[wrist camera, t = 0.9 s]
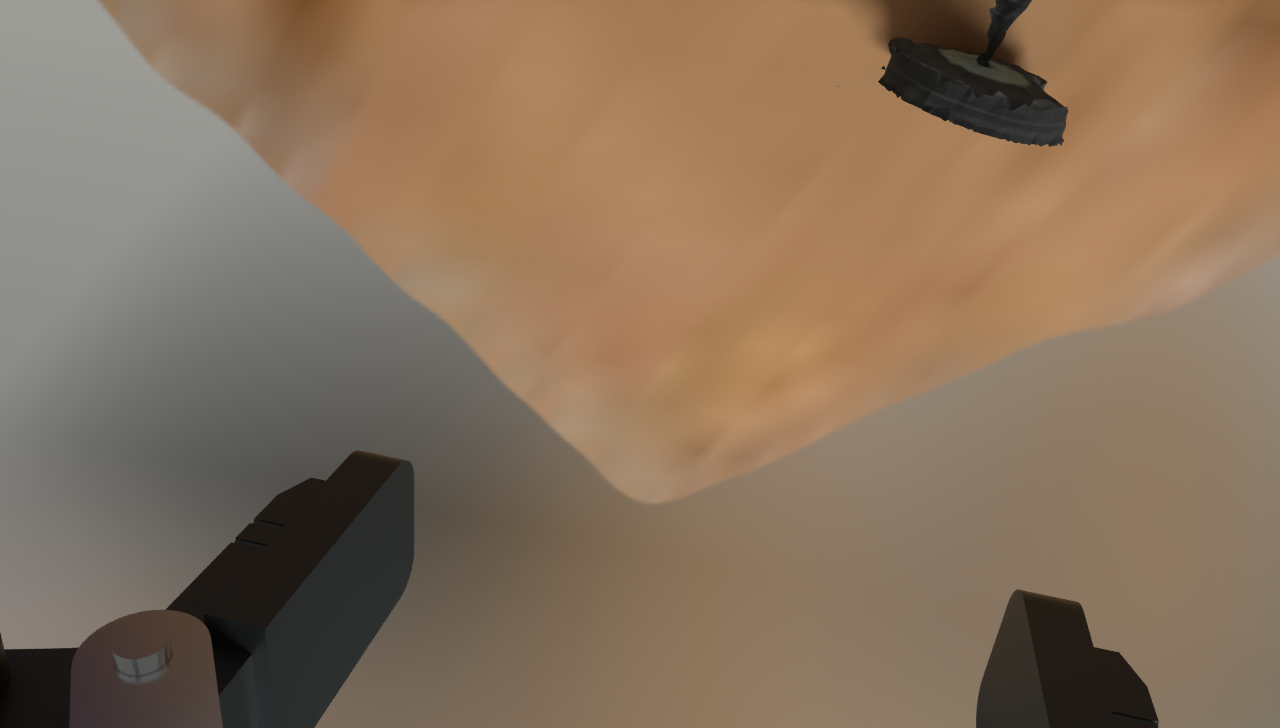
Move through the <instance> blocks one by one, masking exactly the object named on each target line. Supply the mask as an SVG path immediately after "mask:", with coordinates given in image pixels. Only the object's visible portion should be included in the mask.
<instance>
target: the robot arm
mask: <svg viewBox="0 0 1280 728" xmlns="http://www.w3.org/2000/svg"><path fill="white" fill-rule="evenodd" d="M413 559H414V471H413V466H412V464H411V462H409V461H407V460H402V459H397V458H392V457H387V456H383V455H378V454H373V453H368V452H364V451H358V450H357V451H354V452H353V453H352V454H351V455H349V456H348V458H347V459H346V460H345V461H344V462H343V463H342V464H341V465H340V466H339V467H338V468H337V470H336V471H335V472H334V473H333V474H332V475H331V476H330V477H329V478H328V479H327V480H326V481H324V480H319V479H315V478H310V479H308V480H306V481H304V482H302V483H300V484H298V485H296V486H294V487H292V488H290V489H288V490H286V491H284V492H282V493H280V494H278V495H277V496H276V497H275V498H274V499H273V500H272V501H271V502H270V503H269V504H268V505H267V506H266V507H265V508H264V509H263V510H262V511H261V512H260V513H259V514H258V516H256V517H255V519H254V523H253V524H251V523H250V524H249V525H248V526H247V527H246V528H245V529H244V530H243V531H242V532H241V533H240V534H239V535H238V536H237V537H236V541H235V542H234V543H230V544H229V545H228V546H227V547H226V548H225V549H224V550H223V551H222V552H221V553H220V554H219V555H218V556H217V557H216V559H214V560H213V562H212V563H211V564H210V565H209V566H208V567H207V568H206V569H205V570H204V571H203V572H202V573H201V574H200V575H199V576H198V577H197V578H196V579H195V580H194V581H193V582H192V583H191V584H190V585H189V586H188V587H187V588H186V589H185V590H184V591H183V592H182V593H181V594H180V595H179V597H177V598H176V600H174V602H172V604H171V605H170V606H169V607H168V608H167V609H166V610H150V611H143V612H138V613H135V614H130V615H127V616H124V617H122V618H118V619H116V620H114V621H112V622H110V623H108V624H106V625H105V626H103V627H101V628H99V629H98V630H96V631H95V632H94V633H93V634H91V635H90V636H89V637H88V638H87V639H86V640H85V641H84V642H83V643H82V644H81V645H80V647H79V648H59V649H10V650H9V649H6V650H4V647H3V642H2V638H1V634H0V728H314V727H315V726H316V724H317V723H318V721H319V720H320V718H321V717H322V715H323V714H324V712H325V711H326V709H327V708H328V706H329V705H330V703H331V702H332V700H333V699H334V697H335V696H336V694H337V693H338V691H339V690H340V688H341V687H342V685H343V683H344V682H345V681H346V679H347V678H348V676H349V675H350V673H351V672H352V670H353V668H354V667H355V666H356V664H357V663H358V661H359V659H360V658H361V656H362V655H363V653H364V652H365V650H366V649H367V647H368V646H369V644H370V643H371V641H372V640H373V638H374V637H375V635H376V634H377V632H378V631H379V629H380V627H381V626H382V625H383V623H384V622H385V620H386V619H387V617H388V616H389V614H390V613H391V611H392V610H393V608H394V607H395V605H396V604H397V602H398V601H399V599H400V598H401V596H402V594H403V592H404V590H405V588H406V586H407V583H408V580H409V577H410V573H411V570H412V565H413ZM1158 723H1159V721H1158V718H1157V715H1156V712H1155V709H1154V706H1153V703H1152V700H1151V697H1150V694H1149V691H1148V688H1147V686H1146V685H1145V684H1144V682H1143V681H1142V680H1141V679H1140V677H1139V676H1138V675H1137V674H1136V673H1135V671H1134V670H1133V669H1132V668H1131V666H1130V665H1129V664H1128V663H1127V662H1126V660H1125V659H1124V658H1123V657H1122V655H1121V654H1120V653H1119V652H1114V651H1109V650H1104V649H1100V648H1095V647H1093V643H1092V640H1091V636H1090V632H1089V629H1088V625H1087V622H1086V618H1085V615H1084V611H1083V609H1082V606H1081V604H1080V603H1079V602H1075V601H1070V600H1066V599H1060V598H1056V597H1051V596H1046V595H1041V594H1037V593H1032V592H1027V591H1022V590H1016V591H1014V592H1013V594H1012V596H1011V598H1010V600H1009V602H1008V605H1007V608H1006V611H1005V614H1004V617H1003V620H1002V623H1001V626H1000V628H999V631H998V634H997V637H996V640H995V643H994V646H993V649H992V652H991V655H990V658H989V661H988V664H987V667H986V670H985V673H984V676H983V679H982V682H981V686H980V691H979V696H978V703H977V714H976V728H1158Z"/></svg>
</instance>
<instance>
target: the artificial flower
mask: <svg viewBox="0 0 1280 728" xmlns="http://www.w3.org/2000/svg"><path fill="white" fill-rule="evenodd" d="M1031 1H1032V0H996V7H993V8H990V14H991V20H992V22H991V25H990V27H989V30H988V32H987V36H988V37H989V39H990V41H989V44H988V47H987V51H986V53H983V54H980V55H979V54H978V53H965V52H963V51H961V50H959V49H951V50H945V49H940V47H939V45H930V44H918V43H913V42H912V41H911V40H909V39H907V38H900V37H898V38H894V39H892V40H891V41H890V42H889V44H888V45H889V50H890V53H891V55H892V56H891V59H890V61H889V63H888V66H887V68H886V72H885V74H884V76H883V77H882V78H881V79H880V80H879V81H878V82H879V83H880V84H881V85H883V86H884V87H885V88H886V89H887V90H888V91H893V93H895V94H896V95H897V98H898V97H900V96H901V99H902V100H903V101H905V102H907V103H909V104H912V105H914V106H915V107H917V108H920V109H922V110H923V111H926V112H928V113H930V114H932V115H934V116H937V117H940V118H941V119H943V120H944V121H947V120H949V121H950V122H952V123H953V124H957V125H960V126H963V127H965V128H967V129H972V130H973V131H974V132H978V133H981V134H985V135H988V136H992V137H995V138H999V139H1006V140H1007V141H1013V142H1014V143H1019V142H1020V143H1021V144H1028V145H1030V144H1035V145H1037V144H1038V146H1039V145H1040V146H1043V145H1046V144H1048V145H1049V146H1055V145H1057V144H1058V143H1059V144H1060V145H1061V146H1062V143H1063V141H1064V140H1063V138H1062V135H1063V132H1064V130H1065V127H1066V116H1067V113H1068V110H1067V107H1064V106H1063V105H1061V104H1060V103H1059V102H1058V101H1057V100H1055V99H1054V98H1052V97H1051V96H1049V95H1048V94H1047V93H1045V92H1044V91H1043V89H1044V87H1045V85H1046V83H1047V81H1046V80H1044V79H1042V78H1040V77H1039V76H1037V75H1035V74H1032V73H1029V72H1027V71H1025V70H1023V69H1022V68H1021V67H1019V66H1017V65H1014V64H1012V63H1009V62H1006V61H996V60H994V59H990V58H991V57H992V55H993V54H994V52H995V51H996V49H997V48H998V46H999V45H1000V44H1001V42H1002V41H1003V39H1004V37H1005V34H1006V31H1007V30H1008V28H1009V27H1010V25H1011V24H1012V23H1013V21H1014V20H1015V19H1016V18H1017V17H1018V16H1019V15H1020V14H1021V13H1022V12H1023V11H1024V10H1025V9H1026V8H1027V7H1028V5H1029V4H1030V2H1031ZM882 69H884V70H885V67H884V66H883V67H882ZM837 86H838V85H837Z"/></svg>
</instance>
